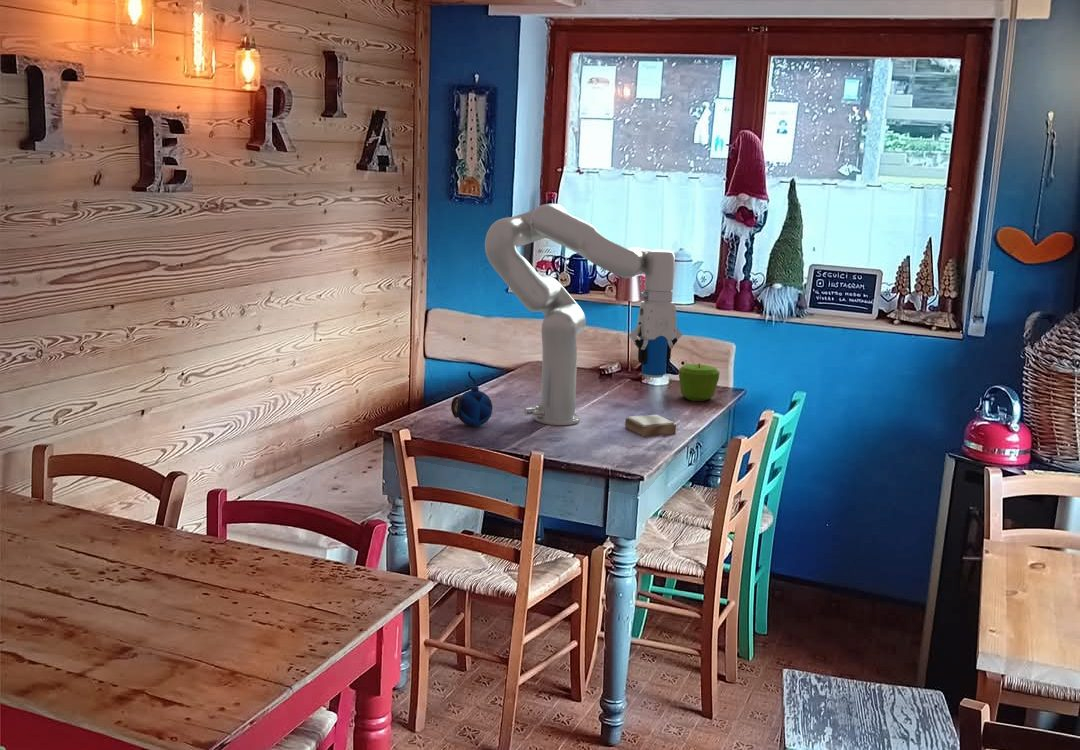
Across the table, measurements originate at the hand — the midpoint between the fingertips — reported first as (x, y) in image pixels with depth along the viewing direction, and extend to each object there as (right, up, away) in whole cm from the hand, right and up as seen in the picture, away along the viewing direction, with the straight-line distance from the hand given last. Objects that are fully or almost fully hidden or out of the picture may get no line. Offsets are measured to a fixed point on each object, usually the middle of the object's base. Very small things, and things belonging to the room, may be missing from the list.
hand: (654, 362), depth 293 cm
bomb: (-49, -17, +1) cm, 52 cm away
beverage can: (0, -4, +1) cm, 4 cm away
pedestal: (-1, -19, +4) cm, 19 cm away
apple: (+18, -11, +44) cm, 49 cm away
